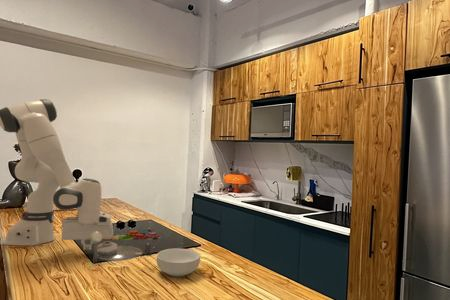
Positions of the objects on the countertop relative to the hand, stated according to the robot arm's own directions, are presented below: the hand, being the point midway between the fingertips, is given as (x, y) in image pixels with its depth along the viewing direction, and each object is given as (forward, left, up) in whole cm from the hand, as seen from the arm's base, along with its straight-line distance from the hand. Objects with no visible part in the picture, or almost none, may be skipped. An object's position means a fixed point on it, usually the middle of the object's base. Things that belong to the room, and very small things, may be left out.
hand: (87, 249), depth 134 cm
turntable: (+15, 0, -3) cm, 15 cm away
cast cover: (+8, 0, -2) cm, 8 cm away
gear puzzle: (+16, +28, -4) cm, 32 cm away
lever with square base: (+5, -11, -3) cm, 13 cm away
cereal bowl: (+36, -22, -4) cm, 42 cm away
